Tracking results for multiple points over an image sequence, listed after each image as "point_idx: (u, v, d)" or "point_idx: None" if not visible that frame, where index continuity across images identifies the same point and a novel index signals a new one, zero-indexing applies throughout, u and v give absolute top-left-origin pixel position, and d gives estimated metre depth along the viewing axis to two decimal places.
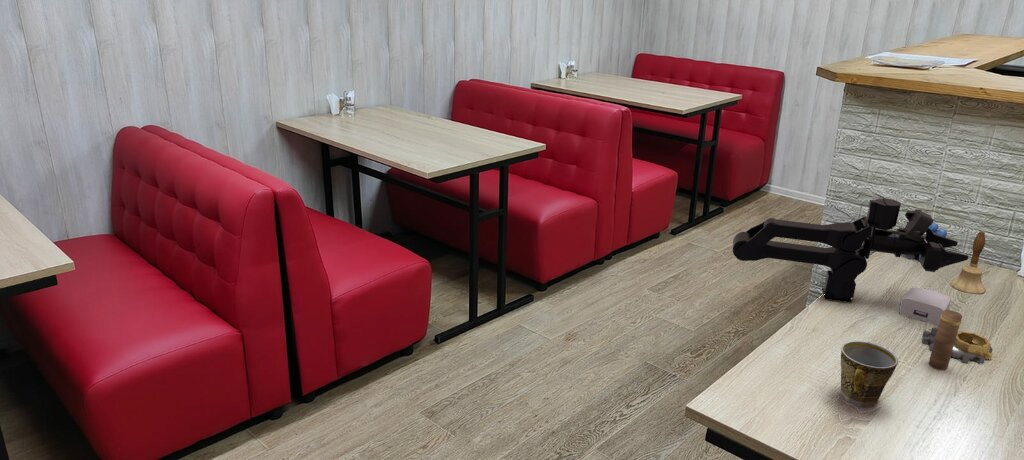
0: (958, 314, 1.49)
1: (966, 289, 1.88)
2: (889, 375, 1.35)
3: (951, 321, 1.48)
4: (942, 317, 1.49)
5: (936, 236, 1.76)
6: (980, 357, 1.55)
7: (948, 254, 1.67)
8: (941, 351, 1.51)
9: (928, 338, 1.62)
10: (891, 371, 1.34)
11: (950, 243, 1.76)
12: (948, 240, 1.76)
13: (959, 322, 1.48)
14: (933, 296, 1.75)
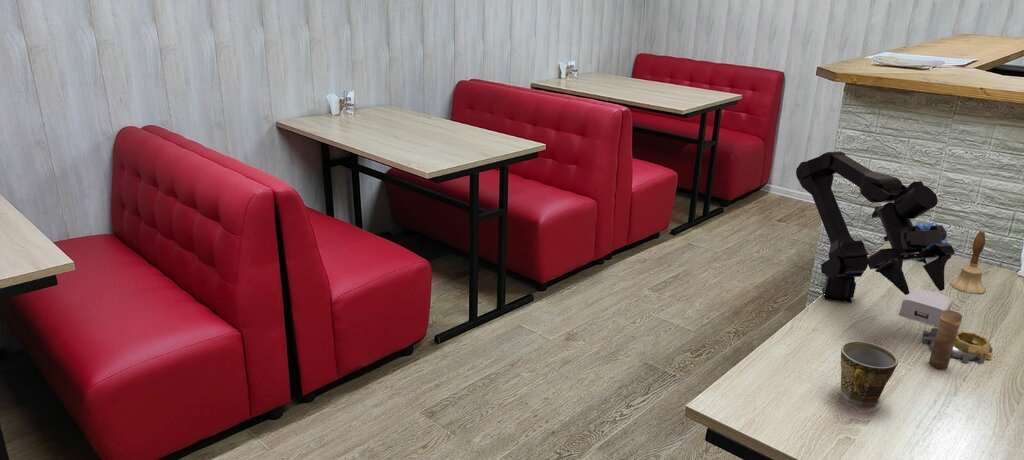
0: (958, 314, 1.49)
1: (966, 289, 1.88)
2: (889, 375, 1.35)
3: (951, 321, 1.48)
4: (942, 317, 1.49)
5: (938, 268, 1.58)
6: (980, 357, 1.55)
7: (896, 273, 1.56)
8: (941, 351, 1.51)
9: (928, 338, 1.62)
10: (891, 371, 1.34)
11: (938, 283, 1.58)
12: (940, 280, 1.57)
13: (959, 322, 1.48)
14: (934, 297, 1.74)
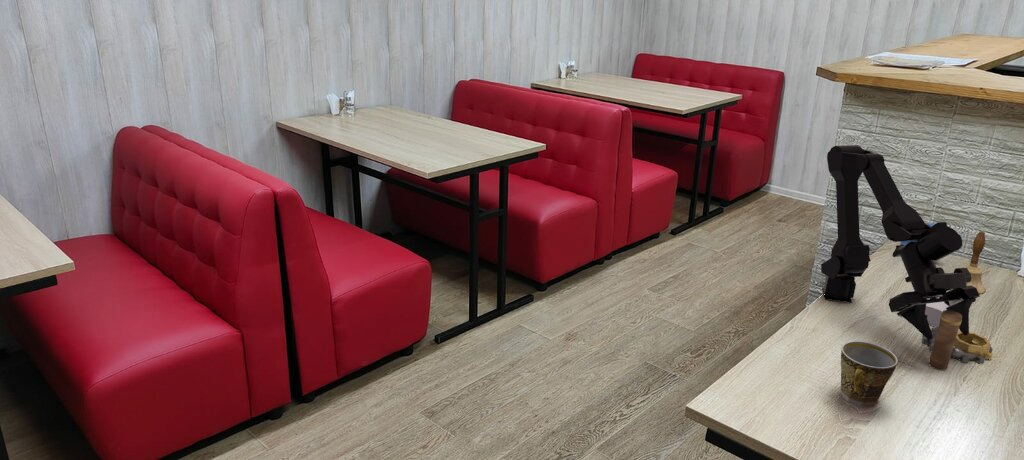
0: (958, 314, 1.49)
1: None
2: (889, 375, 1.35)
3: (951, 321, 1.48)
4: (942, 317, 1.49)
5: (962, 311, 1.52)
6: (980, 357, 1.55)
7: (919, 317, 1.50)
8: (941, 351, 1.51)
9: None
10: (891, 371, 1.34)
11: (962, 328, 1.52)
12: (964, 324, 1.52)
13: (959, 322, 1.48)
14: None
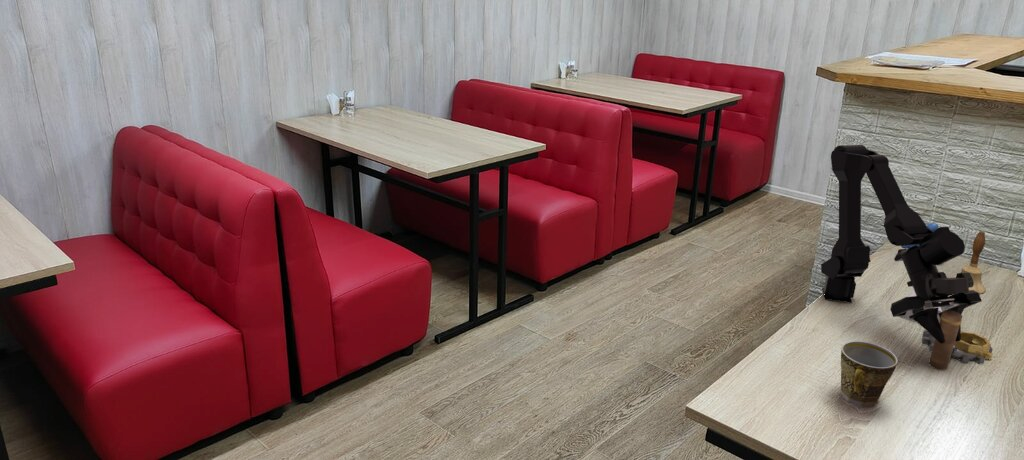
0: (958, 314, 1.49)
1: None
2: (889, 375, 1.35)
3: (951, 321, 1.48)
4: (942, 317, 1.49)
5: None
6: (980, 357, 1.55)
7: (931, 321, 1.50)
8: (941, 351, 1.51)
9: (928, 338, 1.62)
10: (891, 371, 1.34)
11: None
12: None
13: (959, 322, 1.48)
14: None
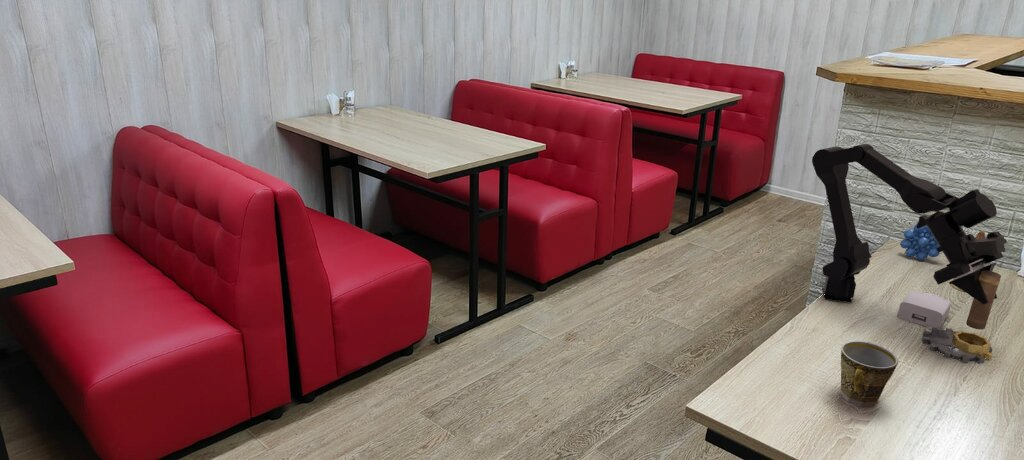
0: (995, 273, 1.52)
1: None
2: (889, 375, 1.35)
3: (993, 281, 1.50)
4: (983, 278, 1.52)
5: None
6: (980, 357, 1.55)
7: (973, 284, 1.52)
8: (982, 312, 1.53)
9: (928, 338, 1.62)
10: (891, 371, 1.34)
11: None
12: None
13: (999, 281, 1.51)
14: (932, 300, 1.73)
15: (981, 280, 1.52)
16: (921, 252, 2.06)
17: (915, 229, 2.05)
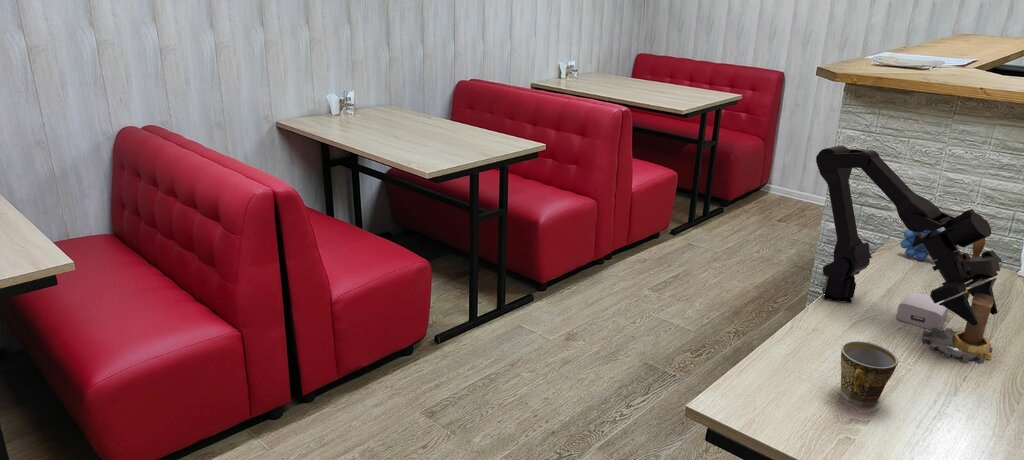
0: (988, 296, 1.55)
1: (966, 289, 1.88)
2: (889, 375, 1.35)
3: (986, 304, 1.53)
4: (976, 301, 1.54)
5: (988, 292, 1.58)
6: (980, 357, 1.55)
7: (963, 305, 1.52)
8: (976, 334, 1.56)
9: (928, 338, 1.62)
10: (891, 371, 1.34)
11: None
12: None
13: (992, 303, 1.54)
14: (931, 301, 1.72)
15: (974, 303, 1.55)
16: (921, 252, 2.06)
17: None
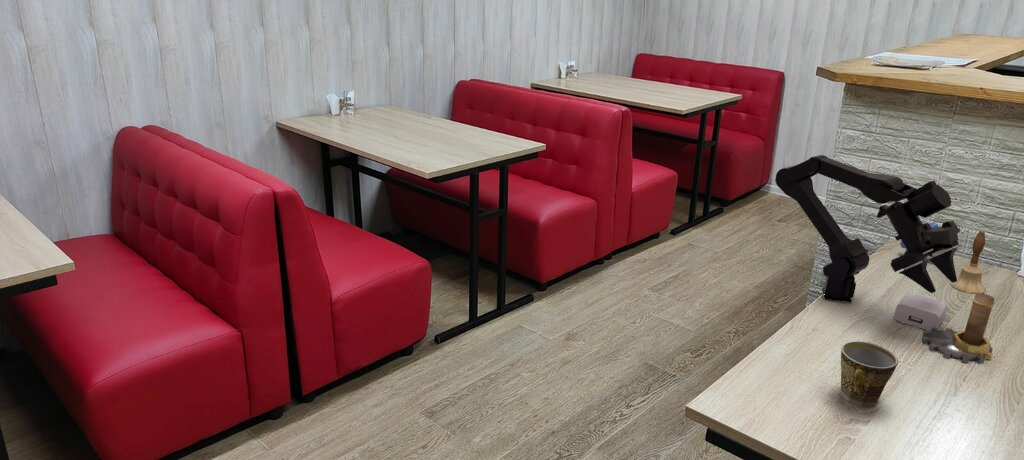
0: (989, 296, 1.55)
1: (966, 289, 1.88)
2: (889, 375, 1.35)
3: (987, 304, 1.53)
4: (977, 301, 1.54)
5: (948, 261, 1.64)
6: (980, 357, 1.55)
7: (922, 274, 1.59)
8: (977, 334, 1.56)
9: (928, 338, 1.62)
10: (891, 371, 1.34)
11: (950, 276, 1.64)
12: (952, 272, 1.64)
13: (993, 304, 1.53)
14: (929, 302, 1.72)
15: (975, 303, 1.55)
16: None
17: None
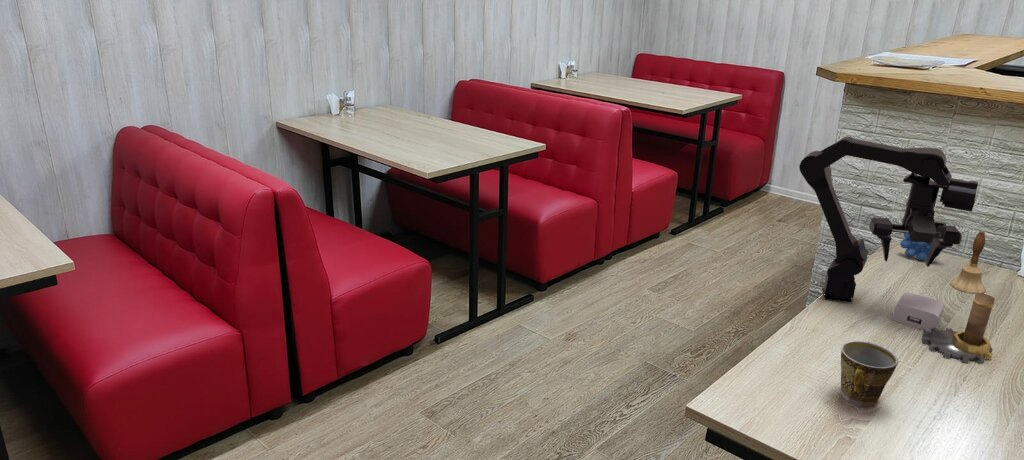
0: (989, 296, 1.55)
1: (966, 289, 1.88)
2: (889, 375, 1.35)
3: (987, 304, 1.53)
4: (977, 301, 1.54)
5: (934, 249, 1.68)
6: (980, 357, 1.55)
7: None
8: (977, 334, 1.56)
9: (928, 338, 1.62)
10: (891, 371, 1.34)
11: (927, 259, 1.71)
12: (929, 258, 1.70)
13: (993, 304, 1.53)
14: (926, 302, 1.72)
15: (975, 303, 1.55)
16: (921, 252, 2.06)
17: None
